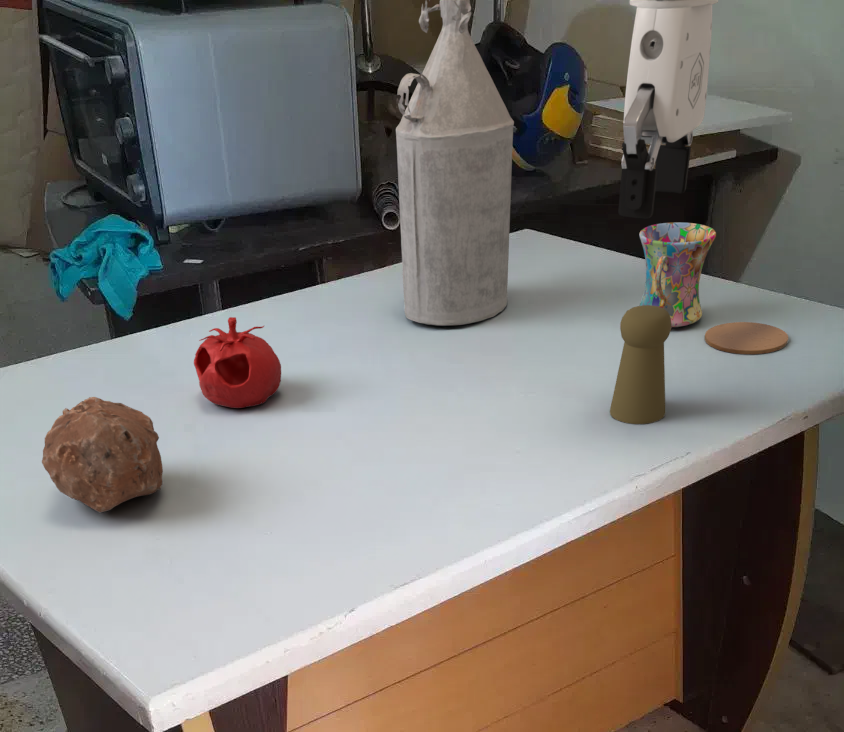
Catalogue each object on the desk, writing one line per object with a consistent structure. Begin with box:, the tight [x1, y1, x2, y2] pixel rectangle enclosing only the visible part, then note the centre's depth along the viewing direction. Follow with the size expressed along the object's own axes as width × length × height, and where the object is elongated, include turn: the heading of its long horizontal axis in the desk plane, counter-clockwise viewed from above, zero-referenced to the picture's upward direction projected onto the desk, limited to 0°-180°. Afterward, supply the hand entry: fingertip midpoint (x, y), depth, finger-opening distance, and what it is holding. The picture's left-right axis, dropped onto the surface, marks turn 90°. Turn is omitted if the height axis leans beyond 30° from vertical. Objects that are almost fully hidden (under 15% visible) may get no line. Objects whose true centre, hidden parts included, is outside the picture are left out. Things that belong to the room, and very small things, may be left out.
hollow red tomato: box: [193, 316, 282, 409], centre depth 117 cm, size 10×10×9 cm
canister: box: [395, 0, 515, 327], centre depth 126 cm, size 13×17×40 cm
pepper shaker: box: [609, 305, 672, 425], centre depth 108 cm, size 6×6×11 cm
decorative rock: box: [41, 396, 164, 514], centre depth 99 cm, size 13×11×10 cm
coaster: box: [704, 321, 789, 355], centre depth 126 cm, size 10×10×1 cm
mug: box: [638, 221, 717, 328], centre depth 128 cm, size 12×9×11 cm
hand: (652, 203), depth 98 cm, fingers open, 9 cm apart
